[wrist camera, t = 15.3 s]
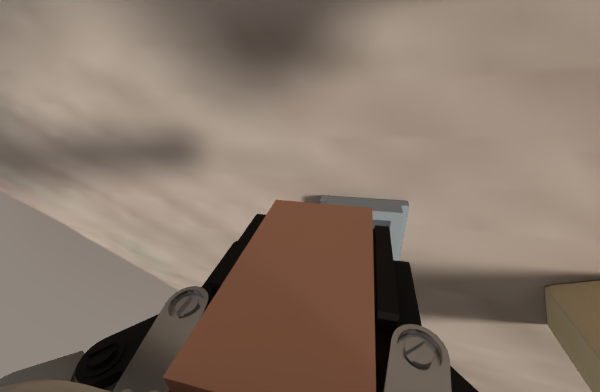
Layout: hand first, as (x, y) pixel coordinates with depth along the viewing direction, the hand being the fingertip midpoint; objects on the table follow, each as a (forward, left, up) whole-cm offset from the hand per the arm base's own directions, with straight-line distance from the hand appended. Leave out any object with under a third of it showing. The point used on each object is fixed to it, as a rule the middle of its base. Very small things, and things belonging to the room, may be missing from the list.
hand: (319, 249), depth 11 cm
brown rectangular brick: (0, 0, -1) cm, 1 cm away
